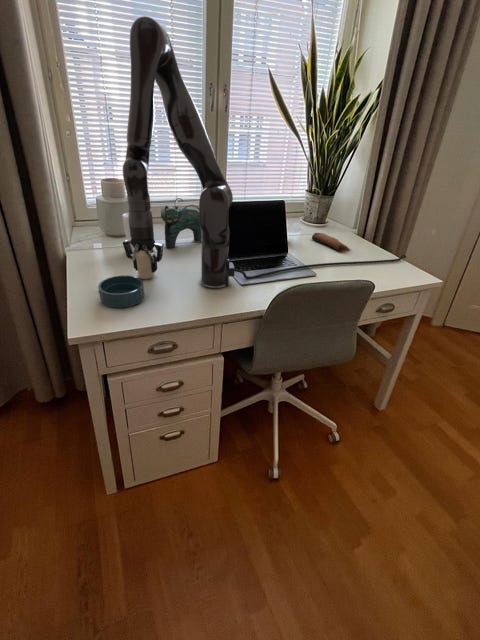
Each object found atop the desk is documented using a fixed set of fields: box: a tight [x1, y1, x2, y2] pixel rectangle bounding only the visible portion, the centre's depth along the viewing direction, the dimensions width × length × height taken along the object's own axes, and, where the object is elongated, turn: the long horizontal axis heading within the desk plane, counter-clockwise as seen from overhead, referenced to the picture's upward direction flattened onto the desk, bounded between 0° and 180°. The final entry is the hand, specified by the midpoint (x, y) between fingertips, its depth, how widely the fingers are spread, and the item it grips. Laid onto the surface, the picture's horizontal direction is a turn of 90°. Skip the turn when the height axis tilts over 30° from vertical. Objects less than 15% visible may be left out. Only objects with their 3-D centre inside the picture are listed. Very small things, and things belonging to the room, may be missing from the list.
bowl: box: [97, 274, 145, 309], centre depth 108 cm, size 13×13×5 cm
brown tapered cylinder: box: [311, 232, 350, 253], centre depth 164 cm, size 18×7×7 cm
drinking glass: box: [122, 212, 135, 252], centre depth 140 cm, size 7×7×15 cm
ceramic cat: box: [160, 197, 201, 249], centre depth 149 cm, size 20×6×20 cm, turn 129°
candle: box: [136, 250, 155, 280], centre depth 121 cm, size 6×6×10 cm
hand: (145, 270), depth 122 cm, fingers closed on candle, 5 cm apart
